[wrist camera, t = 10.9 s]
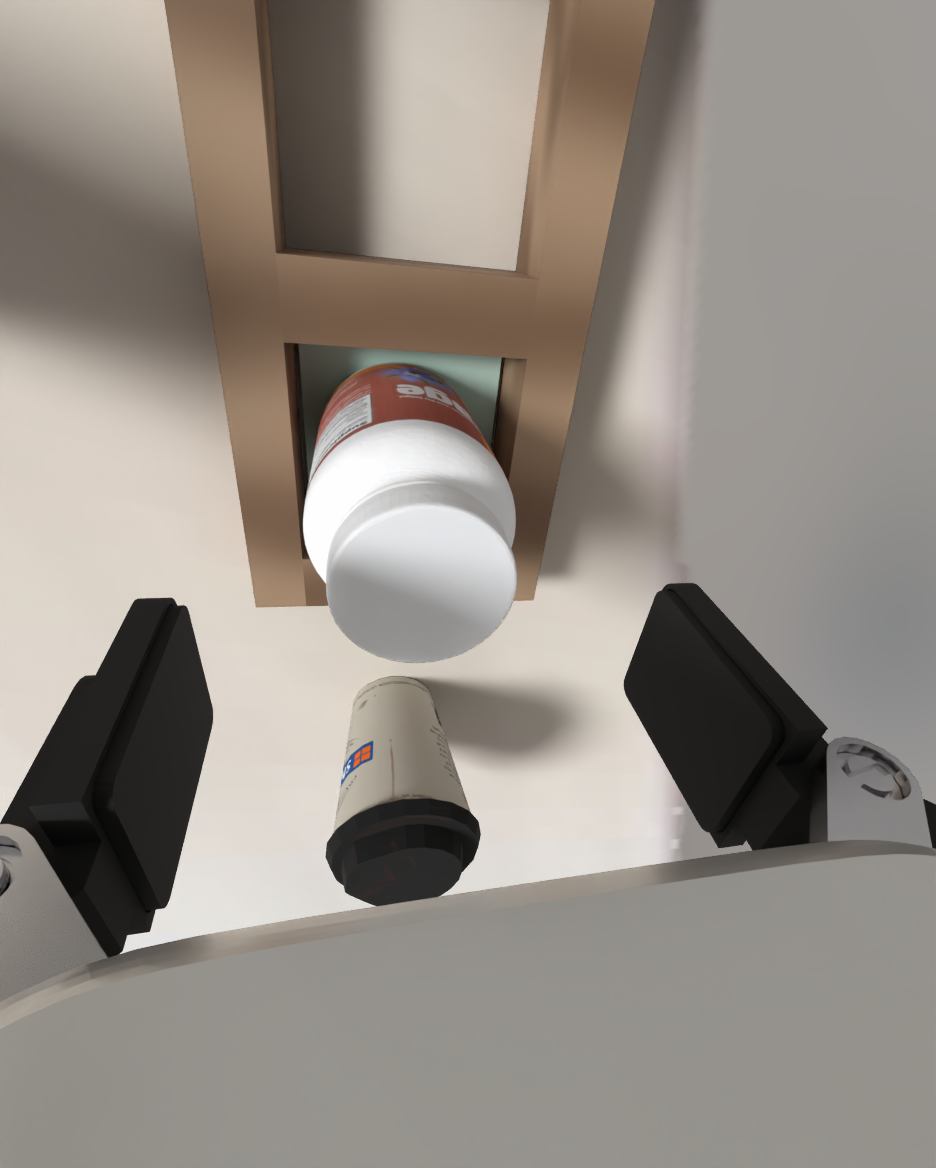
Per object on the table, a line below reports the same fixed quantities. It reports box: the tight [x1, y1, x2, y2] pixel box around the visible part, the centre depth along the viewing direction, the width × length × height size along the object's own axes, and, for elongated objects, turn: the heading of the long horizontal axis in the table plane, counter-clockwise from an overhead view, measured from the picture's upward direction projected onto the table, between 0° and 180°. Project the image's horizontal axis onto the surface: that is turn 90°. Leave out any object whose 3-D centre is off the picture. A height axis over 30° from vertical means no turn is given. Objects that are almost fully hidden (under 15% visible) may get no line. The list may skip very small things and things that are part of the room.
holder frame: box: [164, 0, 655, 607], centre depth 18 cm, size 23×12×3 cm, turn 174°
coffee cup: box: [326, 677, 481, 906], centre depth 27 cm, size 7×7×10 cm
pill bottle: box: [303, 362, 517, 663], centre depth 17 cm, size 6×6×11 cm
